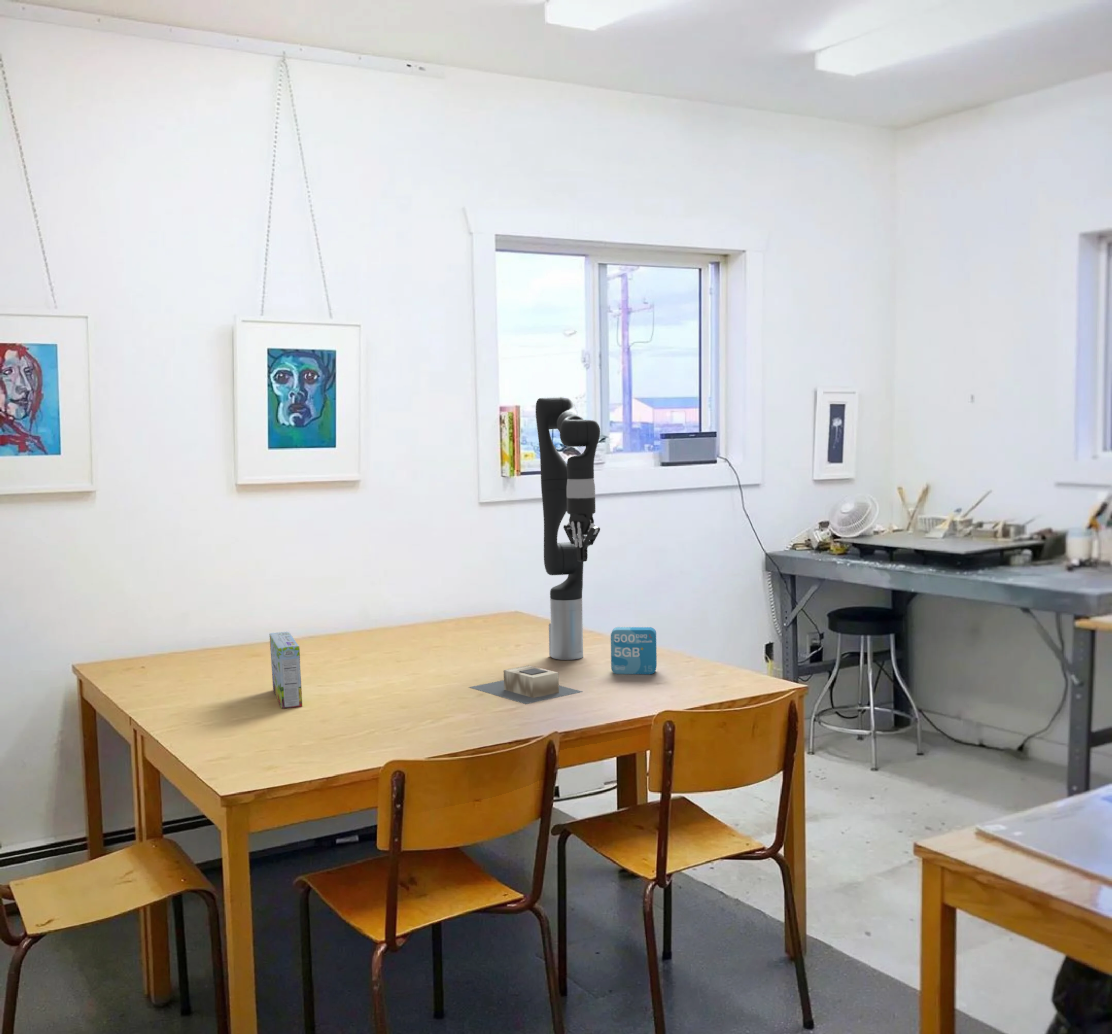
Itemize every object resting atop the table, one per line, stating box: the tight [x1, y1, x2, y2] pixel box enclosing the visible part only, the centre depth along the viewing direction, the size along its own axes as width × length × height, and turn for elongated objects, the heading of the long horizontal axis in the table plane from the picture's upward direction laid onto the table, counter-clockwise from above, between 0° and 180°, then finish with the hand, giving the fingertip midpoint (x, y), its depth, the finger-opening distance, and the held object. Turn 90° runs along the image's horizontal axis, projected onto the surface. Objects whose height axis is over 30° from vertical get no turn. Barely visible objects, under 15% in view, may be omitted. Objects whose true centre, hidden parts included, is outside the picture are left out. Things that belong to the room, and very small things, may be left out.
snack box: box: [269, 631, 303, 710], centre depth 270 cm, size 21×6×15 cm, turn 21°
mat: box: [468, 679, 584, 705], centre depth 273 cm, size 24×18×1 cm
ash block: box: [503, 664, 560, 698], centre depth 271 cm, size 5×8×12 cm
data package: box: [610, 626, 658, 675], centre depth 291 cm, size 12×4×12 cm, turn 83°
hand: (582, 561), depth 286 cm, fingers closed
